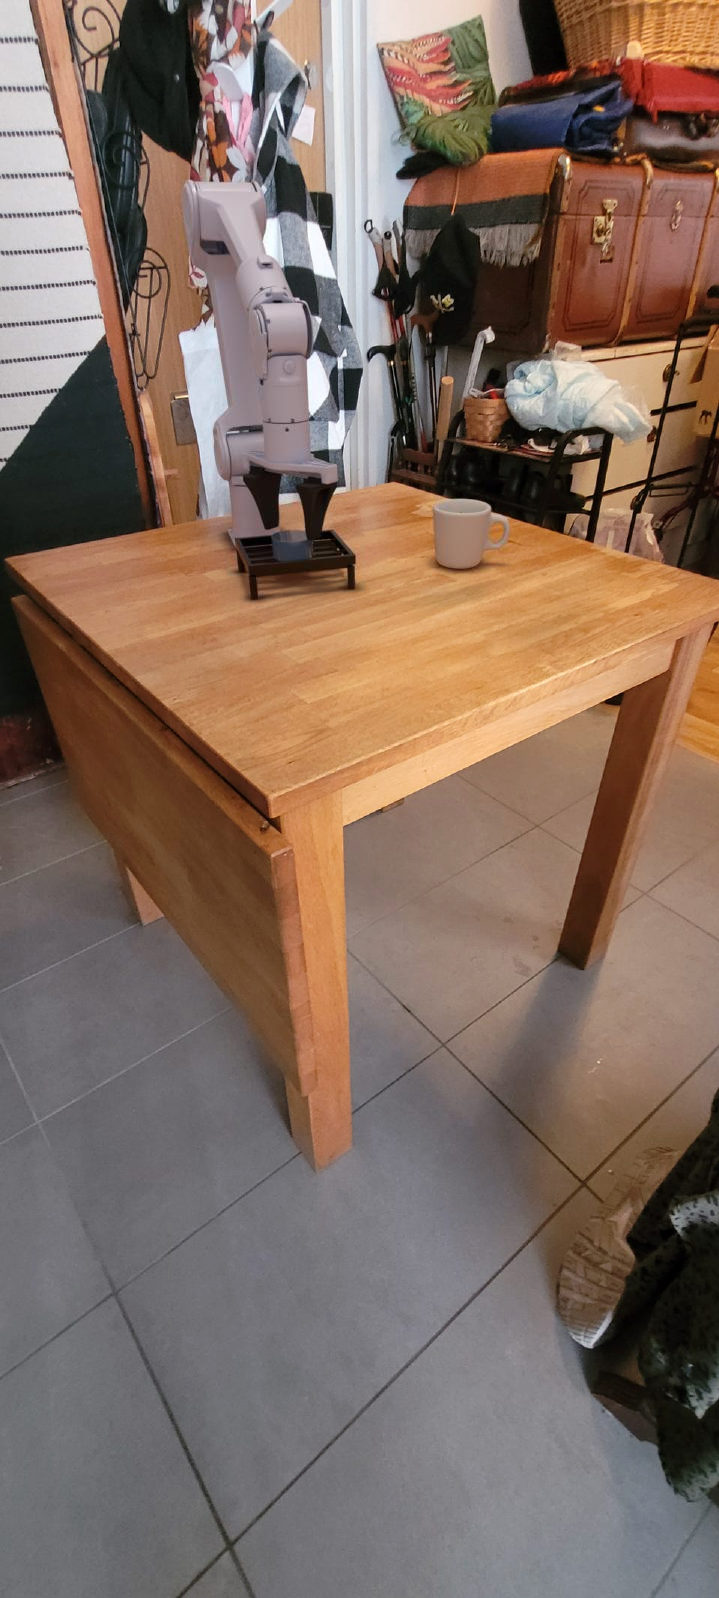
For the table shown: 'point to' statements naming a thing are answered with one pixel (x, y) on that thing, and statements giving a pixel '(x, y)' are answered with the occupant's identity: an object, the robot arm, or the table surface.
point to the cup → (465, 532)
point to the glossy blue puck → (291, 545)
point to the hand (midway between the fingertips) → (292, 533)
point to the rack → (264, 564)
